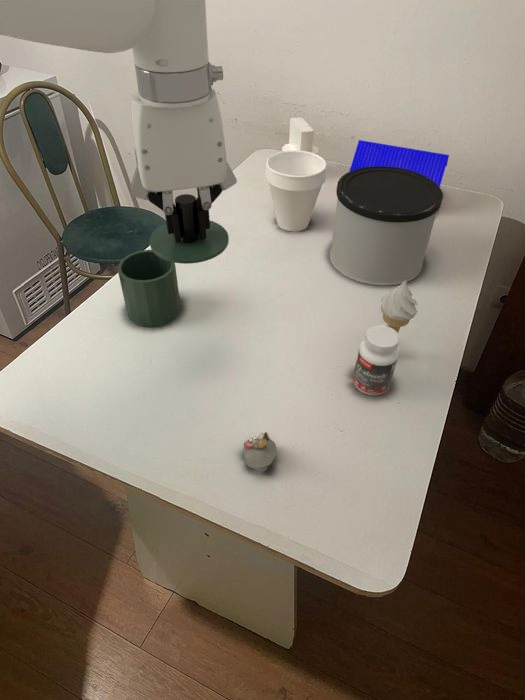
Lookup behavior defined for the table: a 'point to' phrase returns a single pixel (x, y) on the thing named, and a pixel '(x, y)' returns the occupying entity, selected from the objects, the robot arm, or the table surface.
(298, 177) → the cup
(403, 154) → the blue corrugated sheet
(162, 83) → the robot arm
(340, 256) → the container
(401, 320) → the ice cream cone
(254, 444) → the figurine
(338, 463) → the table surface
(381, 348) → the pill bottle
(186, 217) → the trash can lid
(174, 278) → the trash can
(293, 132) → the cylinder with rectangular tab
